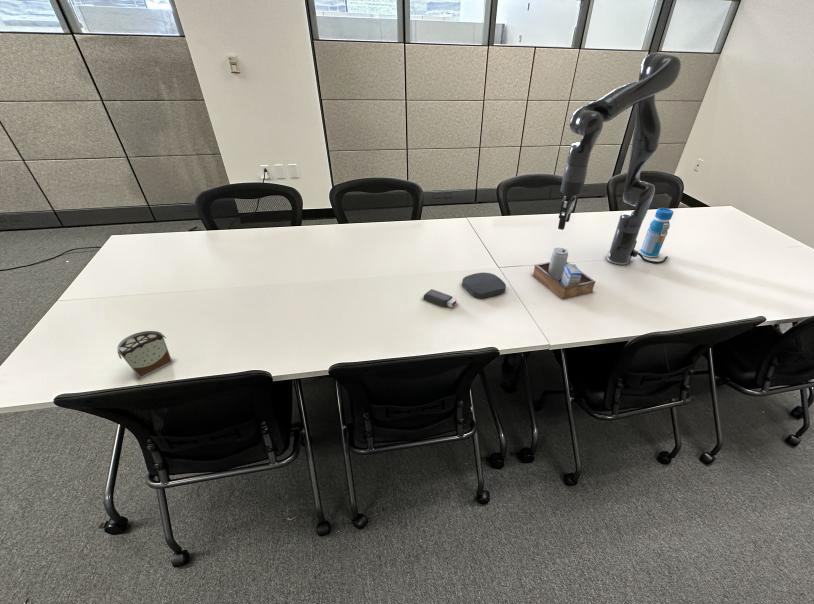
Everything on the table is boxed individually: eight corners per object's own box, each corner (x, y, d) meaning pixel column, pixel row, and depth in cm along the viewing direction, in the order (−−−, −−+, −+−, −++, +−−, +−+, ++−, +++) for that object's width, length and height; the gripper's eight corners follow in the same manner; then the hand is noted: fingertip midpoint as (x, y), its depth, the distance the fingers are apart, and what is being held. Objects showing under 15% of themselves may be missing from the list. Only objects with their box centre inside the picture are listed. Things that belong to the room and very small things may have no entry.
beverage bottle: (638, 255, 192) (655, 211, 178) (639, 248, 197) (655, 205, 184) (658, 259, 189) (675, 215, 176) (658, 252, 195) (675, 208, 182)
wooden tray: (561, 269, 179) (563, 258, 175) (592, 292, 165) (595, 281, 162) (532, 275, 174) (534, 264, 171) (562, 299, 160) (565, 288, 157)
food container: (166, 351, 128) (151, 324, 121) (177, 359, 125) (163, 332, 119) (124, 372, 120) (106, 344, 113) (135, 381, 118) (117, 353, 111)
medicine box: (560, 283, 169) (564, 263, 163) (570, 283, 170) (575, 263, 164) (565, 293, 163) (570, 273, 158) (576, 293, 164) (582, 273, 158)
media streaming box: (476, 300, 157) (477, 293, 155) (458, 283, 166) (458, 276, 164) (509, 292, 162) (510, 285, 160) (489, 276, 172) (490, 269, 170)
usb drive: (431, 293, 159) (431, 287, 158) (457, 303, 155) (458, 296, 153) (423, 299, 156) (423, 293, 154) (450, 309, 152) (450, 302, 150)
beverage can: (562, 282, 170) (569, 254, 162) (546, 280, 171) (552, 252, 163) (562, 275, 175) (568, 248, 166) (547, 273, 175) (552, 246, 167)
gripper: (580, 185, 137) (569, 234, 148) (588, 174, 146) (577, 220, 157) (558, 182, 139) (548, 229, 150) (567, 171, 149) (557, 217, 160)
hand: (563, 225), depth 154 cm, fingers open, 8 cm apart
